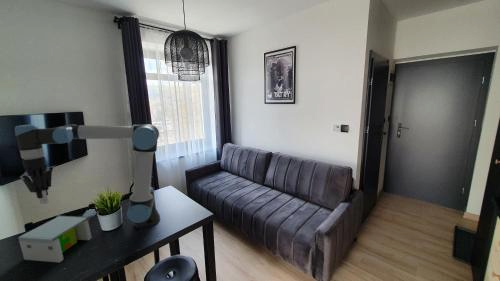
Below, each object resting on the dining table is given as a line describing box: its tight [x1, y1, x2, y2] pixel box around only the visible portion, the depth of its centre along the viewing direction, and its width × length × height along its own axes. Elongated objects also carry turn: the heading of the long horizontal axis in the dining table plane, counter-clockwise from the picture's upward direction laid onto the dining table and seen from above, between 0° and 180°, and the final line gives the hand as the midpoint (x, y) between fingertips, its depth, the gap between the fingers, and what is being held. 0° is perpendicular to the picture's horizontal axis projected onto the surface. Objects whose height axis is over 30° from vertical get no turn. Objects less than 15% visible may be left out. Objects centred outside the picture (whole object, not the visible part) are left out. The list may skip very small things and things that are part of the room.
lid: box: [18, 215, 87, 243], centre depth 106 cm, size 18×20×2 cm
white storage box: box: [18, 214, 92, 263], centre depth 108 cm, size 21×19×14 cm
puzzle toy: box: [57, 227, 78, 254], centre depth 109 cm, size 10×10×10 cm
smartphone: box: [81, 209, 97, 218], centre depth 145 cm, size 7×1×15 cm
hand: (44, 202), depth 101 cm, fingers closed
